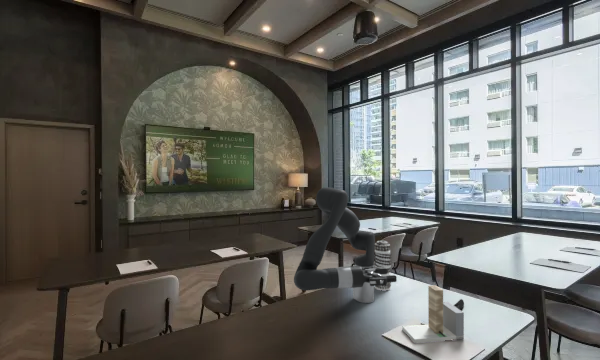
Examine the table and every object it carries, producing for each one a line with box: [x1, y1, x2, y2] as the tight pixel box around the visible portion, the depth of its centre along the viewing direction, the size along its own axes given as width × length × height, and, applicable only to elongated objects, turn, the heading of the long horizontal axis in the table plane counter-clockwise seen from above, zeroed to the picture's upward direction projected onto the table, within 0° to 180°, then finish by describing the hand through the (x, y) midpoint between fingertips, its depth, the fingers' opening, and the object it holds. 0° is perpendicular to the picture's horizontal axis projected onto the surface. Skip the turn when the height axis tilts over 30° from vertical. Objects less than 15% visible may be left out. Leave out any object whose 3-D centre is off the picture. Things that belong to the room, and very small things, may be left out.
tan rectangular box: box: [427, 284, 445, 337], centre depth 119 cm, size 3×8×16 cm, turn 7°
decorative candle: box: [374, 240, 392, 292], centre depth 170 cm, size 9×9×25 cm
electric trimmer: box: [452, 298, 465, 311], centre depth 142 cm, size 4×16×3 cm, turn 139°
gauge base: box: [401, 301, 465, 344], centre depth 121 cm, size 19×10×10 cm, turn 97°
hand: (391, 274), depth 118 cm, fingers open, 8 cm apart
